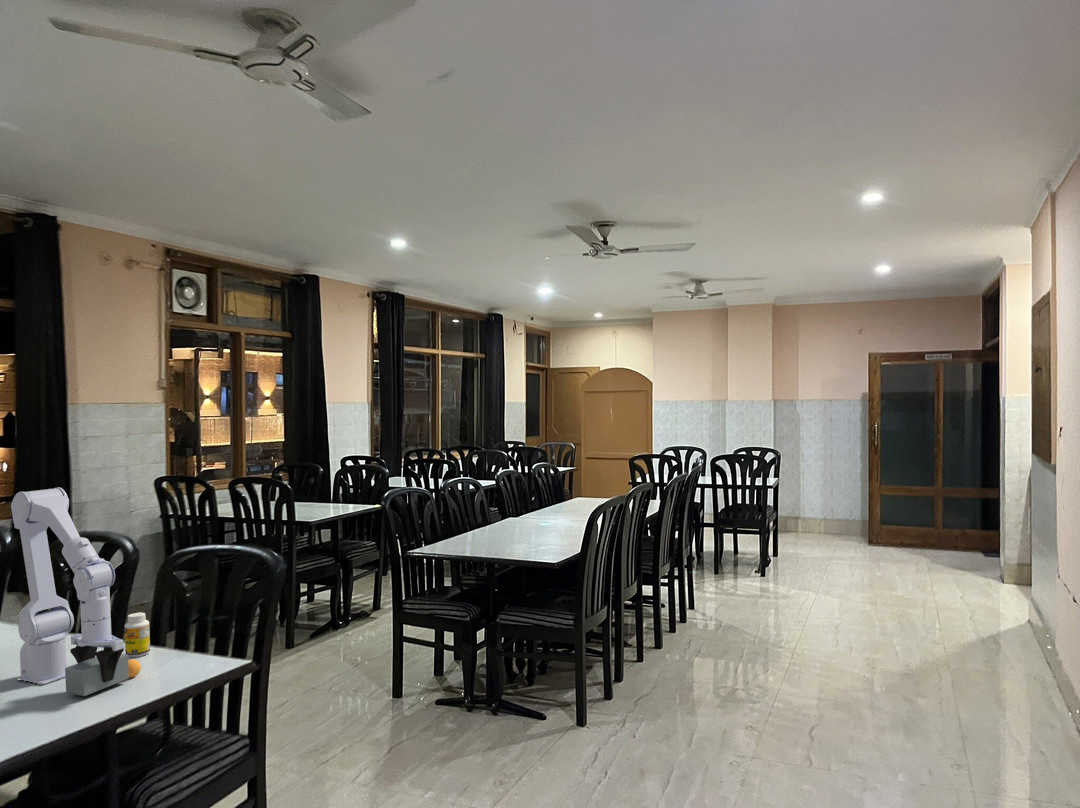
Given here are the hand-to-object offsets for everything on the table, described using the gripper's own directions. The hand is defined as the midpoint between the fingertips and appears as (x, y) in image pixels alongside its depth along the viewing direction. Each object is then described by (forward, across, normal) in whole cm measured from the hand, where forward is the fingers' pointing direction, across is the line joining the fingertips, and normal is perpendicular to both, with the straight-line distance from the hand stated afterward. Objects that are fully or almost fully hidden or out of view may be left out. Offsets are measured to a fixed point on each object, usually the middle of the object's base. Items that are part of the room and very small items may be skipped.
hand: (98, 679), depth 171 cm
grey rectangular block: (+1, 0, 0) cm, 1 cm away
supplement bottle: (+3, -13, +20) cm, 24 cm away
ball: (0, 0, +8) cm, 8 cm away
